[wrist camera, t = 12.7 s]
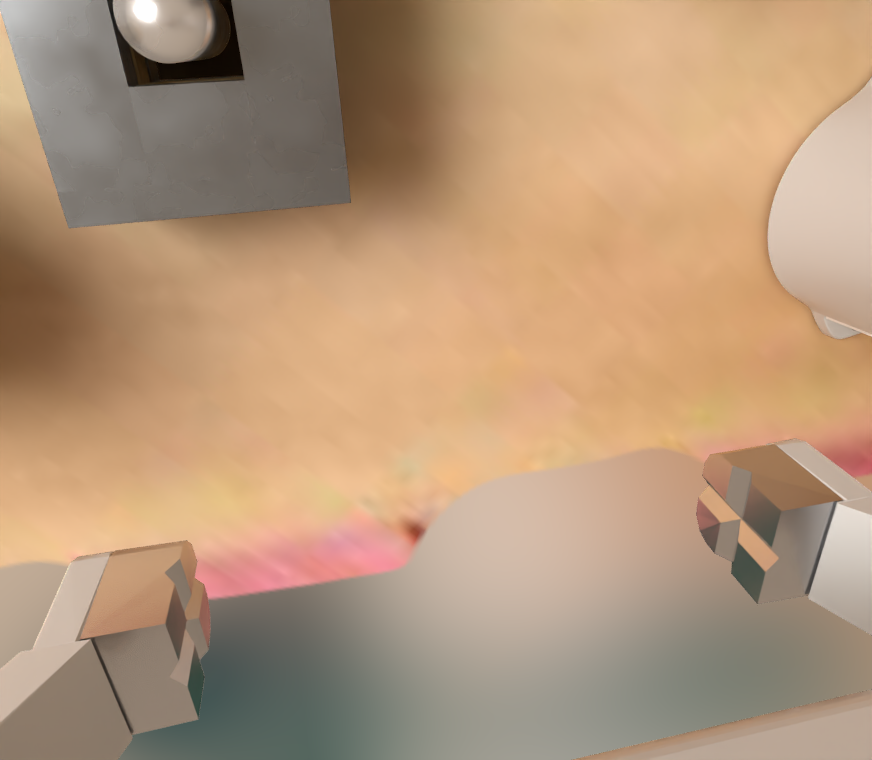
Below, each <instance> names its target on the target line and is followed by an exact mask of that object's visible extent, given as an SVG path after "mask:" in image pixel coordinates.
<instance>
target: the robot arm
mask: <svg viewBox="0 0 872 760" xmlns="http://www.w3.org/2000/svg"><path fill="white" fill-rule="evenodd" d="M768 251H769V257H770V261H771V264H772V268H773V270H774V273H775V275H776V277H777V278H778V280H779V282H780V283H781V285H782V286H783V287H784V288H785V289H786V290H787V291H788V292H789V293H790V294H791V295H792V296H794V297H795V298H797V299H798V300H799V301H801V302H802V303H804V304H805V305H806V306H808V307H809V308H810V309H811V311H812V314H813V316H814V319H815V321H816V323H817V325H818V327H819V329H820V330H821V332H822V333H823V334H825V335H827V336H830V337H833V338H835V339H844V338H848V337H851V336H854V335H857V334H860V333H864V334H866V335H869V336H871V337H872V77H871V79H870V80H869V81H868V83H867V84H866V86H865V87H864V88H863V89H862V90H861V91H860V92H859V93H857V94H856V95H855V96H854V97H853V98H851V99H850V100H849V101H847V102H846V103H845V104H843V105H842V106H841V107H839V108H838V109H837V110H835V111H834V112H833V113H832V114H831V115H829V116H828V117H827V118H826V119H825V120H824V121H823V122H822V123H821V124H820V125H819V126H818V127H817V128H816V129H815V130H814V131H813V132H812V133H811V134H810V135H809V137H808V138H807V139H806V140H805V141H804V143H803V144H802V145H801V147H800V148H799V150H798V151H797V152H796V154H795V155H794V157H793V159H792V160H791V162H790V164H789V165H788V167H787V169H786V171H785V173H784V175H783V177H782V179H781V181H780V184H779V186H778V189H777V191H776V194H775V197H774V200H773V204H772V207H771V212H770V217H769V224H768ZM702 476H703V477H704V479H705V480H706V481H707V483H708V484H709V485H708V487H707V488H706V489H705V490H704V492H703V493H702V494H701V495H700V496H699V498H698V504H697V512H696V516H697V520H698V524H699V529H700V532H701V534H702V536H703V538H704V540H705V542H706V543H707V545H708V546H709V547H710V548H711V550H712V551H713V552H714V553H715V554H717V555H719V556H721V557H723V558H725V559H727V560H729V561H731V562H732V568H731V574H732V575H733V576H734V577H735V578H736V579H737V581H738V582H739V583H740V584H741V585H742V587H743V588H744V589H745V590H746V591H747V592H748V594H749V595H750V596H751V597H752V598H753V600H754V601H755V602H756V603H757V604H762V603H768V602H774V601H779V600H785V599H791V598H797V597H803V596H808V595H809V596H808V598H809V599H810V600H812V601H814V602H815V603H817V604H819V605H821V606H822V607H824V608H826V609H827V610H829V611H831V612H832V613H834V614H836V615H838V616H839V617H841V618H843V619H844V620H846V621H848V622H850V623H851V624H853V625H855V626H857V627H858V628H860V629H862V630H863V631H865V632H867V633H868V634H870V635H872V492H871V491H870V490H869V489H868V488H866V487H865V486H863V485H862V484H861V483H859V482H858V481H857V480H856V479H854V478H853V477H852V476H850V475H849V474H848V473H846V472H845V471H844V470H842V469H841V468H840V467H838V466H837V465H836V464H834V463H833V462H832V461H830V460H829V459H828V458H827V457H825V456H824V455H823V454H821V453H820V452H819V451H817V450H816V449H815V448H813V447H812V446H811V445H809V444H808V443H807V442H805V441H802V440H798V439H790V440H785V441H780V442H774V443H769V444H766V445H763V446H757V447H751V448H745V449H739V450H734V451H728V452H722V453H716V454H710V456H709V457H708V459H707V460H706V462H705V464H704V469H703V475H702ZM196 566H197V559H196V556H195V553H194V550H193V547H192V544H191V543H190V542H188V541H187V540H186V541H179V542H172V543H165V544H158V545H151V546H144V547H137V548H130V549H123V550H116V551H115V552H105V553H99V554H92V555H86V556H79V557H77V558H76V559H75V560H73V561H72V562H71V563H70V565H69V567H68V569H67V571H66V574H65V576H64V578H63V580H62V583H61V585H60V587H59V589H58V592H57V594H56V596H55V599H54V601H53V603H52V605H51V608H50V610H49V612H48V615H47V617H46V619H45V622H44V624H43V626H42V629H41V631H40V633H39V635H38V637H37V640H36V642H35V644H34V647H33V649H32V650H28V651H23V652H20V653H18V654H17V655H16V656H15V657H14V658H13V659H11V660H10V661H9V662H8V663H7V664H6V665H4V666H3V667H2V668H1V669H0V760H118V759H119V757H120V756H121V754H122V753H123V752H124V750H125V749H126V747H127V746H128V745H129V743H130V742H131V740H132V739H133V738H132V735H134V734H138V733H142V732H147V731H151V730H155V729H160V728H164V727H168V726H173V725H177V724H180V723H185V722H190V721H194V720H198V719H199V713H200V706H201V698H202V692H203V685H204V678H205V676H204V673H203V670H202V667H201V663H200V659H201V658H202V657H203V656H204V654H205V653H206V652H207V651H208V649H209V641H210V609H209V602H208V597H207V593H206V589H205V586H204V584H203V583H201V582H200V581H198V580H197V579H195V572H196ZM573 760H872V689H871V690H866V691H862V692H858V693H854V694H849V695H845V696H841V697H836V698H832V699H828V700H824V701H819V702H815V703H811V704H807V705H803V706H798V707H794V708H790V709H785V710H781V711H777V712H773V713H769V714H764V715H760V716H756V717H751V718H747V719H743V720H739V721H735V722H730V723H726V724H722V725H717V726H713V727H709V728H705V729H701V730H696V731H692V732H688V733H684V734H679V735H675V736H671V737H666V738H662V739H658V740H654V741H650V742H645V743H641V744H637V745H633V746H629V747H624V748H620V749H616V750H612V751H608V752H603V753H599V754H594V755H590V756H586V757H582V758H577V759H573Z"/></svg>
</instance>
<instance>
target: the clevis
mask: <svg viewBox="0 0 872 760" xmlns="http://www.w3.org/2000/svg"><path fill="white" fill-rule="evenodd" d="M231 2H232V8H233V14H234V20H235V26H236V32H237V38H238V43H239V49H240V55H241V61H242V67H243V73H244V75H237V76H220V77H203V78H186V79H169V80H160V78H159V73H158V69H157V64H156V61H153V60H151V59H148V58H146V57H144V56H143V55H141V54H140V53H138V52H137V51H136V50H135V49H134V48H132V47H131V46H130V44H129V43H128V42H127V41H126V40H125V38H124V37H123V35H122V34H121V32H120V30H119V28H118V26H117V23H116V20H115V17H114V11H113V0H0V12H1V15H2V18H3V21H4V24H5V28H6V31H7V34H8V37H9V40H10V43H11V47H12V50H13V53H14V56H15V59H16V62H17V66H18V69H19V72H20V75H21V78H22V82H23V85H24V88H25V91H26V94H27V97H28V101H29V104H30V107H31V110H32V113H33V116H34V120H35V123H36V126H37V129H38V132H39V135H40V139H41V142H42V145H43V148H44V151H45V155H46V158H47V161H48V164H49V167H50V170H51V174H52V177H53V180H54V183H55V186H56V189H57V193H58V196H59V199H60V202H61V205H62V209H63V212H64V215H65V218H66V221H67V224H68V228H77V227H88V226H99V225H110V224H121V223H132V222H143V221H154V220H165V219H177V218H188V217H199V216H210V215H221V214H232V213H243V212H254V211H265V210H276V209H287V208H298V207H310V206H321V205H332V204H343V203H351V198H350V189H349V179H348V170H347V161H346V151H345V142H344V133H343V123H342V114H341V105H340V96H339V86H338V77H337V68H336V58H335V49H334V40H333V30H332V21H331V12H330V3H329V0H231Z"/></svg>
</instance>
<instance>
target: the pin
mask: <svg viewBox="0 0 872 760" xmlns="http://www.w3.org/2000/svg"><path fill="white" fill-rule="evenodd" d="M113 11H114V17H115V20H116V23H117V26H118V28H119V30H120V32H121V34H122V35H123V37H124V38H125V40H126V41H127V42H128V43H129V44H130V46H131V47H132V48H134V49H135V50H136V51H137V52H138V53H140V54H141V55H143V56H144V57H146V58H148V59H151V60H153V61H156V62H160V63H178V62H187V61H195V60H204V59H210V58H213V57H215V56H217V55H219V54H220V53H221V52H222V51H223V50H224V49H225V47H226V46H227V44H228V41H229V38H230V32H231V27H230V21H229V17H228V14H227V12H226V10H225V8H224V7H223V5H222V4H221V3H220V1H219V0H113Z"/></svg>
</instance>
